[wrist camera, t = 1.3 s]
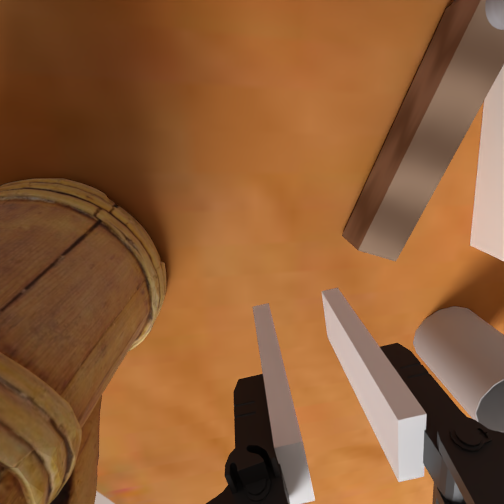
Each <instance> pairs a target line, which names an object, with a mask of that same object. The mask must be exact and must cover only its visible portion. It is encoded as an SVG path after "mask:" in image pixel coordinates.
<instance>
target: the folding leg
mask: <svg viewBox="0 0 504 504" xmlns="http://www.w3.org/2000/svg"><path fill="white" fill-rule="evenodd" d="M503 65H504V0H454V1H453V2H452V4H451V5H450V6H449V7H447V8H446V10H445V13H444V15H443V17H442V19H441V21H440V23H439V26H438V28H437V30H436V32H435V34H434V36H433V39H432V41H431V43H430V45H429V47H428V50H427V52H426V54H425V56H424V58H423V60H422V63H421V65H420V67H419V69H418V71H417V73H416V76H415V78H414V80H413V82H412V84H411V87H410V89H409V91H408V93H407V95H406V97H405V100H404V102H403V104H402V106H401V108H400V110H399V113H398V115H397V117H396V119H395V121H394V124H393V126H392V128H391V130H390V132H389V134H388V137H387V139H386V141H385V143H384V145H383V147H382V150H381V152H380V154H379V156H378V158H377V161H376V163H375V165H374V167H373V169H372V171H371V174H370V176H369V178H368V180H367V182H366V184H365V187H364V189H363V191H362V193H361V195H360V198H359V200H358V202H357V204H356V206H355V208H354V211H353V213H352V215H351V217H350V219H349V221H348V224H347V226H346V228H345V230H344V232H343V235H342V236H343V237H344V238H345V239H346V240H347V241H348V242H350V243H351V244H352V245H353V246H354V247H355V248H356V249H357V250H359V251H362V252H366V253H369V254H372V255H376V256H379V257H383V258H386V259H389V260H393V261H396V260H397V258H398V257H399V255H400V253H401V251H402V249H403V247H404V246H405V244H406V242H407V240H408V238H409V236H410V235H411V233H412V231H413V229H414V227H415V226H416V224H417V222H418V220H419V218H420V216H421V215H422V213H423V211H424V209H425V207H426V205H427V204H428V202H429V200H430V198H431V196H432V194H433V193H434V191H435V189H436V187H437V185H438V184H439V182H440V180H441V178H442V176H443V174H444V173H445V171H446V169H447V167H448V165H449V163H450V162H451V160H452V158H453V156H454V154H455V152H456V151H457V149H458V147H459V145H460V143H461V142H462V140H463V138H464V136H465V134H466V132H467V131H468V129H469V127H470V125H471V123H472V121H473V120H474V118H475V116H476V114H477V112H478V111H479V109H480V107H481V105H482V103H483V101H484V100H485V98H486V96H487V94H488V92H489V90H490V89H491V87H492V85H493V83H494V81H495V79H496V78H497V76H498V74H499V72H500V70H501V69H502V67H503Z"/></svg>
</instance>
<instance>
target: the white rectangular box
mask: <svg viewBox="0 0 504 504" xmlns="http://www.w3.org/2000/svg"><path fill="white" fill-rule="evenodd" d="M470 246H472V247H475V248H477V249H479V250H481V251H483V252H485V253H487V254H489V255H491V256H494V257H496V258H498V259H500V260H502V261H504V65H503V67H502V69H501V70H500V72H499V74H498V76H497V78H496V79H495V81H494V83H493V85H492V87H491V89H490V90H489V92H488V94H487V96H486V98H485V100H484V108H483V118H482V128H481V138H480V149H479V159H478V169H477V179H476V189H475V199H474V210H473V220H472V230H471V240H470Z"/></svg>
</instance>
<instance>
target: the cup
mask: <svg viewBox="0 0 504 504" xmlns="http://www.w3.org/2000/svg"><path fill="white" fill-rule="evenodd" d="M413 344H414V347H415V350H416V353H417V354H418V355H419V356H420V357H421V359H422V360H423V361H424V362H425V363H426V365H427V366H428V367H429V368H430V369H431V370H432V372H433V373H434V374H435V375H436V376H437V377H438V379H439V380H440V381H441V382H442V383H443V384H444V386H445V387H446V388H447V389H448V390H449V391H450V393H451V394H452V395H453V396H454V397H455V398H456V400H457V401H458V402H459V403H460V404H461V405H462V407H463V408H464V409H465V410H466V411H467V412H468V414H469V415H470V416H471V417H472V418H473V419H474V420H476V421H477V422H479V423H481V424H482V425H484V426H485V427H487V428H488V429H491V430H494V431H499V432H504V335H503V334H502V333H500V332H499V331H498V330H496V329H495V328H494V327H492V326H491V325H490V324H488V323H487V322H485V321H484V320H483V319H481V318H480V317H479V316H477V315H476V314H475V313H473V312H472V311H471V310H469V309H468V308H463V307H456V306H453V307H449V308H445V309H441V310H438V311H437V312H435V313H434V314H432V315H430V316H429V317H427V318H426V319H425V320H424V321H423V322H422V324H421V325H420V326H419V328H418V329H417V330H416V333H415V337H414V341H413Z"/></svg>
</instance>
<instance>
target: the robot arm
mask: <svg viewBox="0 0 504 504" xmlns="http://www.w3.org/2000/svg"><path fill="white" fill-rule="evenodd" d="M322 298H323V305H324V313H325V321H326V328H327V336H328V339H329V341H330V343H331V345H332V347H333V349H334V351H335V353H336V355H337V357H338V359H339V361H340V363H341V365H342V367H343V369H344V371H345V373H346V375H347V378H348V380H349V382H350V384H351V386H352V388H353V390H354V392H355V394H356V396H357V398H358V400H359V402H360V404H361V406H362V408H363V410H364V412H365V414H366V416H367V418H368V420H369V422H370V424H371V426H372V428H373V430H374V433H375V435H376V437H377V439H378V441H379V443H380V445H381V447H382V449H383V451H384V453H385V455H386V457H387V459H388V461H389V463H390V465H391V467H392V469H393V471H394V473H395V475H396V477H397V479H398V481H399V482H401V481H405V480H410V479H414V478H419V477H423V476H424V465H425V467H426V469H427V470H428V472H429V474H430V475H431V477H432V479H433V481H434V489H433V504H504V432H499V431H494V430H491V429H488V428H487V427H485V426H484V425H482V424H481V423H479V422H477V421H476V420H474V419H471V418H468V417H466V416H465V415H464V414H463V413H462V412H461V411H460V410H459V408H458V407H457V406H456V405H455V404H454V402H453V401H452V400H451V399H450V398H449V396H448V395H447V394H446V393H445V392H444V390H443V389H442V388H441V387H440V386H439V384H438V383H437V382H436V381H435V380H434V378H433V377H432V376H431V375H430V374H429V373H428V371H427V370H426V369H425V368H424V366H423V365H421V363H420V362H419V360H418V359H417V358H416V357H415V356H414V354H413V353H412V352H411V351H410V350H408V349H406V348H405V347H403V346H402V345H400V344H398V343H395V344H390V345H386V346H381V347H379V346H378V344H377V343H376V341H375V340H374V339H373V337H372V336H371V334H370V333H369V332H368V330H367V329H366V327H365V326H364V324H363V323H362V322H361V320H360V319H359V317H358V316H357V315H356V313H355V312H354V310H353V309H352V307H351V306H350V305H349V303H348V302H347V300H346V299H345V298H344V296H343V295H342V293H341V292H340V291H339V289H338V288H334V289H330V290H325V291H322ZM253 312H254V319H255V325H256V332H257V339H258V345H259V352H260V358H261V365H262V372H263V374H260V375H256V376H251V377H247V378H243V379H239V380H238V382H237V385H236V387H235V390H234V417H235V419H234V420H235V449H234V450H233V451H232V452H231V453H230V455H229V457H228V460H227V462H226V464H225V478H226V480H227V483H228V486H227V487H226V488H225V490H224V491H223V492H222V493H220V494H219V495H218V496H217V497H215V498H214V499H212V500H211V501H209V502H208V503H206V504H302V503H306V502H311V501H315V497H314V493H313V488H312V483H311V479H310V474H309V469H308V465H307V460H306V455H305V451H304V446H303V441H302V437H301V433H300V429H299V425H298V421H297V417H296V413H295V409H294V405H293V401H292V397H291V392H290V388H289V384H288V380H287V376H286V372H285V368H284V364H283V360H282V356H281V352H280V348H279V344H278V340H277V336H276V332H275V328H274V323H273V319H272V315H271V311H270V307H269V303H268V304H263V305H259V306H254V307H253Z"/></svg>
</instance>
